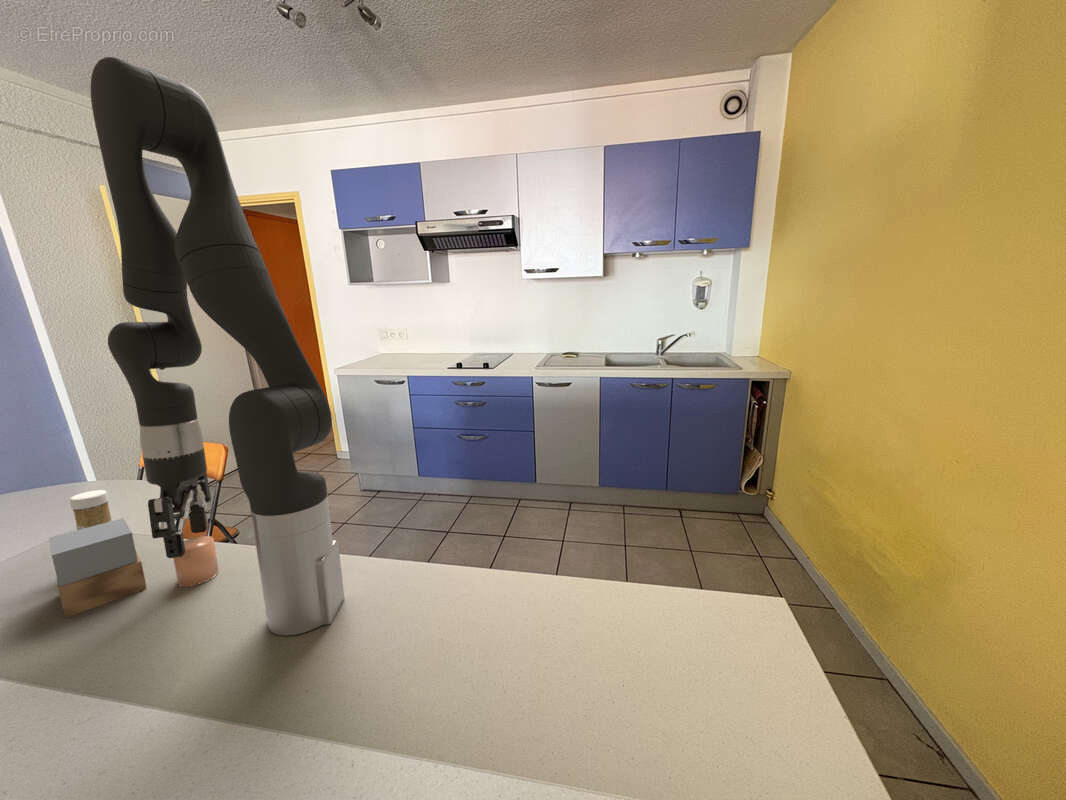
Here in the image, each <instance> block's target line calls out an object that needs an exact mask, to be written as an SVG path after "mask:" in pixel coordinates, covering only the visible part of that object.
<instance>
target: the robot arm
mask: <svg viewBox="0 0 1066 800" xmlns="http://www.w3.org/2000/svg"><path fill="white" fill-rule="evenodd" d="M90 101H91V110H92V114H93V115H92V116H93V120H94V124H95V129H96V134H97V139H98V144H99V148H100V149H99V150H100V152H101V157H102V158H101V159H102V162H103V167H104V171H105V175H106V180H107V183H108V187H109V192H110V197H111V201H112V204H113V209H114V212H115V217H116V223H117V227H118V234H119V243H120V257H121V259H120V260H121V275H122V292H123V296H124V299H125V301H126V302H127V303H129V305H132V306H134V307H136V308H140V309H143V310H147V311H152V312H158V313H161V314H165V315H166V317H167V321H144V322H142V321H124V322H119V323H117V324H115V325H114V326H113V327H112V328H111V329H110V332H109V333H108V336H107V344H108V345H107V346H108V349H109V351H110V353H111V355H112V357H113V359H114V361H115V363H116V364H117V365H118V367H119V370H121V372H122V374H123V376H124V377H125V380H126V382H127V384H128V385H129V388H130V390H131V393H132V395H133V398H134V402H135V407H136V412H137V418H138V419H137V420H138V423H139V424H138V425H139V442H140V443H139V444H140V448H141V449H140V450H141V453H142V459H143V466H144V472H145V478H146V481H147V482H148V483H149V484H150V485H156V486H158V487H159V488H160V493H159V497H158V498H151V499H149V500H148V501H147V509H148V514H149V515H148V516H149V521H150V522H149V523H150V529H151V530H150V531H151V537H152V539H161V538H163V543H164V550H165V555H166V558H168V559H173V558H176V557H181V556H183V555H184V554H185V545H184V541H185V540H184V533H183V528H184V521H185V520H187V519H188V518H189V519H188V520H189V524H190V532H191V533H193V534H198V533H205V532H206V531H207V530H208V528H209V527H208V521H207V520H208V519H207V514H206V512H207V511H206V510H208V503H210V502H211V500H212V496H211V492H210V487H209V486H210V485H209V480H208V473H207V471H208V467H207V460H206V451H205V445H204V438H203V433H202V429H201V426H200V423H199V418H198V414H197V406H196V398H195V392H194V390H193V388H192V387H191V385H189V384H187V383H182V382H170V381H169V382H168V381H161V380H157V379H156V378H155V377H154V376H153V375H152V373H151V371H150V370H154V369H155V370H156V369H157V370H158V369H169V368H170V369H171V368H185V367H190V366H192V365H194V364H196V362H197V361H198V360H199V358H200V357H201V355H202V351H203V350H202V347H203V346H202V341H201V339H200V335H199V333H198V331H197V328H196V326H195V322H194V320H193V316H192V313H191V309H190V304H189V300H188V299H189V298H188V288H189V291H190V293H191V296H192V298H193V299H194V300H195V302H196V303H197V305H198V306H199V307H200V309H201V310H202V311H203V312H204V313H205V314H206V315H207V316H208V317H209V318H210V319H211V320H213V322H214V323H215V324H216V325H217V326H219V327H220V328H221V329H222V330H223V331H225V333H227V335H229V336H231V338H233V340H235V341H236V342H237V343H238V344H239V345H241V347H243V348H244V349H245V350H246V352H247V353H248V354H249V355H250V356H251V357H252V358H253V360H254V361H255V363H256V364H257V365H258V368H259V369H260V371H261V373H262V375H263V377H264V379H265V381H266V383H267V387H263V388H256V389H252V390H247V391H244V392H242V393H240V394H239V395H237V396H236V397H235V398H234V399H233V400H232V403H231V405H230V408H229V413H228V429H229V434H230V435H229V436H230V440H231V446H232V449H233V452H234V453H233V454H234V458H235V462H236V468H237V471H238V476H239V481H240V484H241V488H242V490H243V492H244V494H245V495H246V497H247V499H248V502H249V506H250V507H249V509H250V513H251V514H250V515H251V521H252V522H251V523H252V527H253V533H254V535H253V536H254V541H255V550H256V555H257V560H258V568H259V574H260V582H261V589H262V595H263V602H264V608H265V616H266V619H267V627H268V630H269V631H270V632H271V633H274V634H275V635H277V636H278V635H279V636H297V635H299V634H300V635H301V634H304V633H307V632H310V631H312V630H314V629H316V628H318V627H321V626H325V625H330V624H332V623H333V622H334V620H335V619H334V618H335V617H336V615H337V613H338V611H339V609H340V607H341V604H342V603H343V601H344V599H345V590H344V589H345V588H344V583H343V573H342V564H341V556H340V549H339V548H340V547H339V541H338V540H336V539H333V534H332V525H331V516H330V508H329V507H330V506H329V498H328V488H327V482H326V479H325V477H324V476H323V475H322V474H320V473H318V472H314V471H302V470H300V471H299V470H298V469H297V466H296V461H295V458H294V453H296V452H299V451H302V450H305V449H307V448H311V447H313V446H316V445H318V444H320V443H322V442H324V441H325V439H327V438H328V436H329V434H330V433H331V429H332V423H333V420H332V419H333V418H332V411H331V407H330V405H329V402H328V399H327V397H326V395H325V392H324V390H323V388H322V386H321V385H320V382H319V380H318V379H317V377H316V375H315V373H314V371H313V369H312V368H311V365H310V363H309V362H308V360H307V358H306V356H305V354H304V352H303V351H302V348H301V347H300V344H299V343H298V341H297V339H296V336H295V334H294V331H293V330H292V327H291V324H290V322H289V321H288V318H287V317H286V314H285V312H284V309H283V307H282V305H281V302H280V300H279V297H278V295H277V292H276V290H275V287H274V284H273V281H272V279H271V276H270V273H269V270H268V268H267V266H266V263H265V261H264V257H263V255H262V253H261V251H260V249H259V246H258V245H257V242H256V240H255V238H254V236H253V233H252V230H251V228H250V226H249V224H248V220H247V218H246V216H245V213H244V209H243V207H242V205H241V202H240V200H239V196H238V194H237V191H236V189H235V186H234V182H233V179H232V176H231V173H230V170H229V166H228V162H227V159H226V155H225V153H224V152H225V151H224V149H223V145H222V142H221V138H220V135H219V132H218V128H217V125H216V123H215V119H214V117H213V114H212V112H211V110H210V108H209V106H208V104H207V103H206V101H205V100H204V98H203V97H202V96H201V94H200V93H198V92H197V91H196V90H195V89H193V87H191V86H188V85H187V84H185V83H182V82H181V81H179V80H175V79H172V78H170V77H168V76H166V75H162V74H160V73H157V72H155V71H153V70H150V69H147V68H145V67H142V66H139V65H137V64H135V63H132V62H129V61H127V60H123V59H120V58H118V57H113V56H107V57H106V56H105V57H103V58H101V59H99V60H98V61H97V62H96V63H95V65H94V68H93V70H92V74H91V78H90ZM143 151H145V152H149V153H154V154H159V155H162V156H165V157H170V158H174V159H176V161H178V162H179V163H180V164H181V166H182V168H183V171H184V172H185V174H186V177H187V178H186V179H187V180H188V185H189V189H190V196H189V201H188V205H187V208H186V210H185V212H184V215H183V217H182V218H181V222H180V223H179V227H178V229H177V231H176V230H175V228H174V226H173V224H172V223H171V221H170V220H169V218H168V217H167V216H166V214H165V212H164V211H163V209H162V207H161V205H160V204H159V202H157V200H156V198H155V196H154V194H153V192H152V190H151V188H150V185H149V183H148V180H147V178H146V177H147V176H146V171H145V168H144V159H143Z"/></svg>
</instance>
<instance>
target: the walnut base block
mask: <svg viewBox="0 0 1066 800" xmlns="http://www.w3.org/2000/svg"><path fill="white" fill-rule="evenodd" d="M136 555H137V560H138V562H135V563H132V564H129V565H126V566H123V567H120V568H116V569H113V570H110V571H107V572H104V573H101V574H98V575H95V576H92V577H89V578H86V579H83V580H80V581H76V582H73V583H70V584H67V585H64V586H61V587H59V584H58V580H57V579H56V581H57V589H58V593H59V598H60V601H61V606H62V610H63V613H64V614H63V615H64V618H66V619H67V618H68V617H71V616H74V615H76V614H79V613H82V612H84V611H87V610H90V609H94V608H97V607H99V606H101V605H105V604H108V603H110V602H113V601H116V600H118V599H121V598H124V597H126V596H129V595H132V594H135V593H137V591H138V592H141V591H144V590H147V584H146V583H147V582H146V578H145V573H144V567H143V563H142V560H141V558H140V556H139V554H138V552H137V551H136ZM143 589H144V590H143ZM140 590H141V591H140Z"/></svg>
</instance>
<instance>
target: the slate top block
mask: <svg viewBox="0 0 1066 800" xmlns="http://www.w3.org/2000/svg"><path fill="white" fill-rule="evenodd" d="M48 540H49V546H50V553H51V554H50V555H51V558H52V563H53V567H54V571H55V574H56V581H57V580H58V583H57V585H58V584H59V587H61V586H64V585H67V584H70V583H73V582H76V581H80V580H83V579H86V578H89V577H92V576H95V575H98V574H101V573H104V572H107V571H110V570H113V569H116V568H120V567H123V566H126V565H129V564H132V563H135V562H138V560H137V555H136V552H137V551H136V545H135V541H134V536H133V531H132V530H131V529H130V527H129V525H128V524H127V522H126V520H125V519H124V517H123V518H119V519H115V520H111V522H107V523H103V524H99V525H95V526H92V527H88V528H84V529H80V530H77V529H75V530H73V531H69V532H66V533H61V534H58V535H54V536H50V537H48Z"/></svg>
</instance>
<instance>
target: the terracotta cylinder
mask: <svg viewBox="0 0 1066 800" xmlns="http://www.w3.org/2000/svg"><path fill="white" fill-rule="evenodd" d="M215 544H216V543H215V539H214V537H213V536H211V535H207V536H206V535H203V536H197V537H191V538H188V539H185V540H184V545H185V554H184V555H183V556H181V557H176V558H172V559H173V564H174V569H175V570H174V571H175V574H176V579H177V584H179V585H181V586H180V587H182V586H190V587H192V586H191V585H195V586H197V585H196V584H199V583H202V582H204V581H206V580H208V579H210V578H212V577H213V576H214V575H215V574H216V573H217V572H218V570H219V562H218V556H217V550H216V545H215ZM219 571H220V570H219ZM202 584H203V583H202ZM179 585H178V586H179ZM199 585H200V584H199Z"/></svg>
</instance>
